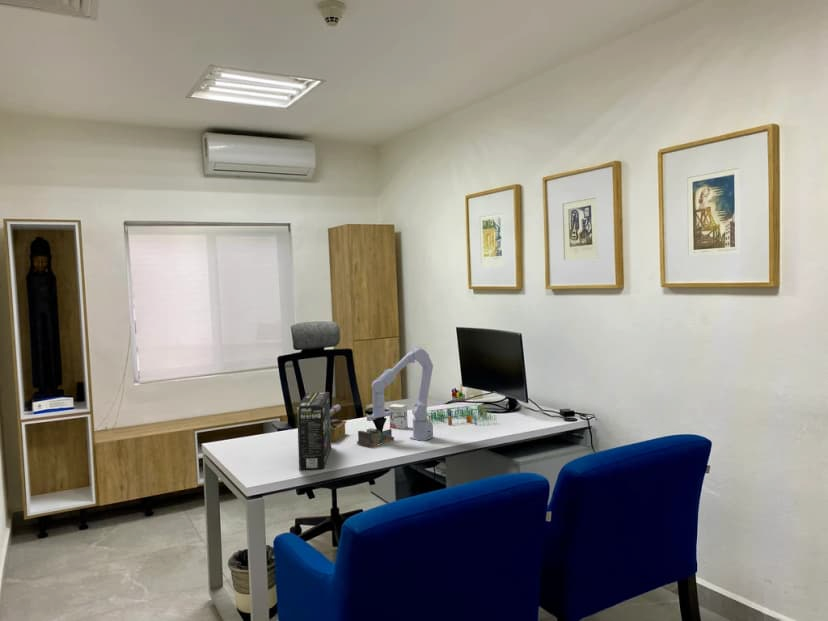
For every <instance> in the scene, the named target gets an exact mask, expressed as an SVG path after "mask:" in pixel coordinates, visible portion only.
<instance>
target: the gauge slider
mask: <svg viewBox="0 0 828 621" xmlns="http://www.w3.org/2000/svg"><path fill="white" fill-rule="evenodd" d="M366 432H370V433H371V434H375V433H378V434H380V431H378V430H377V429H376V428H368V429H366Z"/></svg>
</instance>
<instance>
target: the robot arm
mask: <svg viewBox="0 0 828 621" xmlns="http://www.w3.org/2000/svg"><path fill="white" fill-rule="evenodd" d="M416 361H417V363H419V364H420V366H421V367H422V370H421V375H420V382H419V386H418V391H417V398H416V401H415V404H414V406H413V407H412V410H411V411H412V415H413V418H412V431H413V432H412V434H413V435H412V436H410V437H409V439H411V440H417V441H421V442H425V440H426V441H428V439H429V440H431V438H432V439H434V438H435V436H434V426H433V422H432V421H430V422H429V421H428V420H429V419H428V416H427V415H429V414H428V413H429V412H428V397H429V390H430V386H431V381H432V376H433V374H432V373H433V368H434V365H433V362H432V360H431V358H430V355H429V353H428V352H427V351H426V350H425V349H423V348H422V347H420V346H416V347H414V348H413V349H412V350H410V351H409V352H408V353H407V354H405V355H404V356H403V357H402V358H401V359H400V360H399V361H398V362H397V363H396V364H395V365H394V366H393V367H392V368H388V369H384V370H383V373H381V375H380V376H378V377H376V379H375V380H373V381H372V383H371V389H372V391H371V392H372V393H371V394H372V396H371V398H372V414H370V415H369V416H366V421H368V422H371V421H372V422H373V424H374V427H375V429H377V430H378V431H380V432H382V431H384V427H385V424H386V421H387V417H390V416H391V412H390V411H388V410H387V411H386V408H385V407H386V406H385V393H384V391H385V388H387V386H389V385H390V384H392V382H393V381H394V380H396V378H397V374H398V373H399V372H400V371H402V370H403V368H406V366H407V365H409V364H412V363H416ZM427 419H428V420H427Z"/></svg>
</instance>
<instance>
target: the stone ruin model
mask: <svg viewBox="0 0 828 621" xmlns="http://www.w3.org/2000/svg"><path fill="white" fill-rule="evenodd" d="M392 432H393V431H392V428H390V429H386V430H383V431H382V432H380V434H378V433H375V434H371V433H370V432H367V431H366V430H365V431H364V430H358V431H357V438H358V440H357V441H356V445H357V444H359V445H358V446H362V445H363V447H366V446H368V448H373V447H375V445H376V446H379V445H378V444H380V445H382V444H381V443H383V444H386V443H389V442H391V440H392V441H395V437H394V436H393V435H392ZM388 441H389V442H388ZM385 442H386V443H385ZM372 446H373V447H372Z"/></svg>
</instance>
